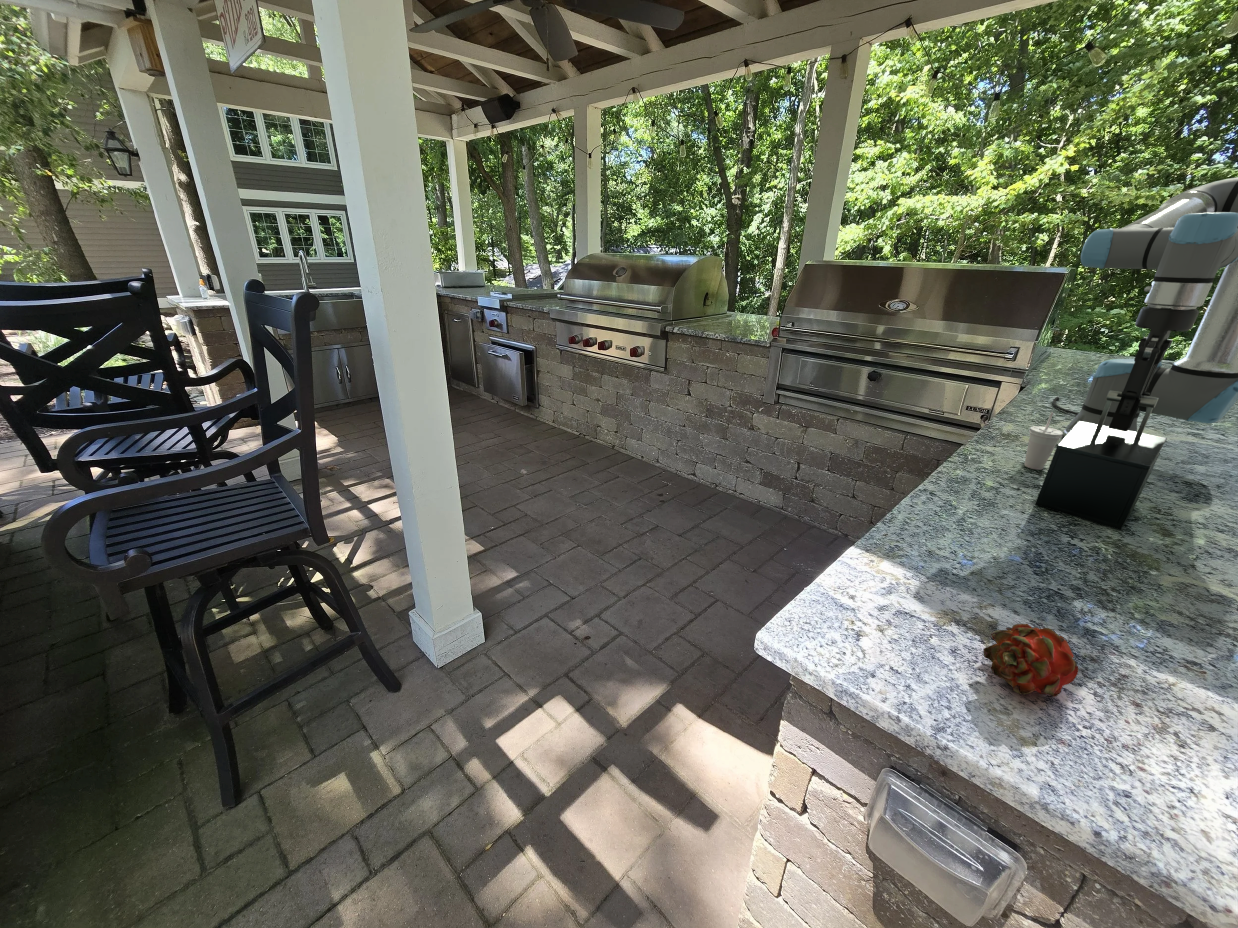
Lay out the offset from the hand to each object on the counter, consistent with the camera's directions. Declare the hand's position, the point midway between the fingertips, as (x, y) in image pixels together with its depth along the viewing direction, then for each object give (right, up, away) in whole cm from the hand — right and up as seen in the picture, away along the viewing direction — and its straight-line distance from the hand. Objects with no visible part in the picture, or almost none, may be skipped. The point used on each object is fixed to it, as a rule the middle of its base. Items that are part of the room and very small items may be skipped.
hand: (1119, 427), depth 101 cm
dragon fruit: (-50, -35, -37) cm, 72 cm away
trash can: (-3, -16, +5) cm, 17 cm away
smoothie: (+3, -8, +24) cm, 26 cm away
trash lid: (-3, -4, -1) cm, 4 cm away
